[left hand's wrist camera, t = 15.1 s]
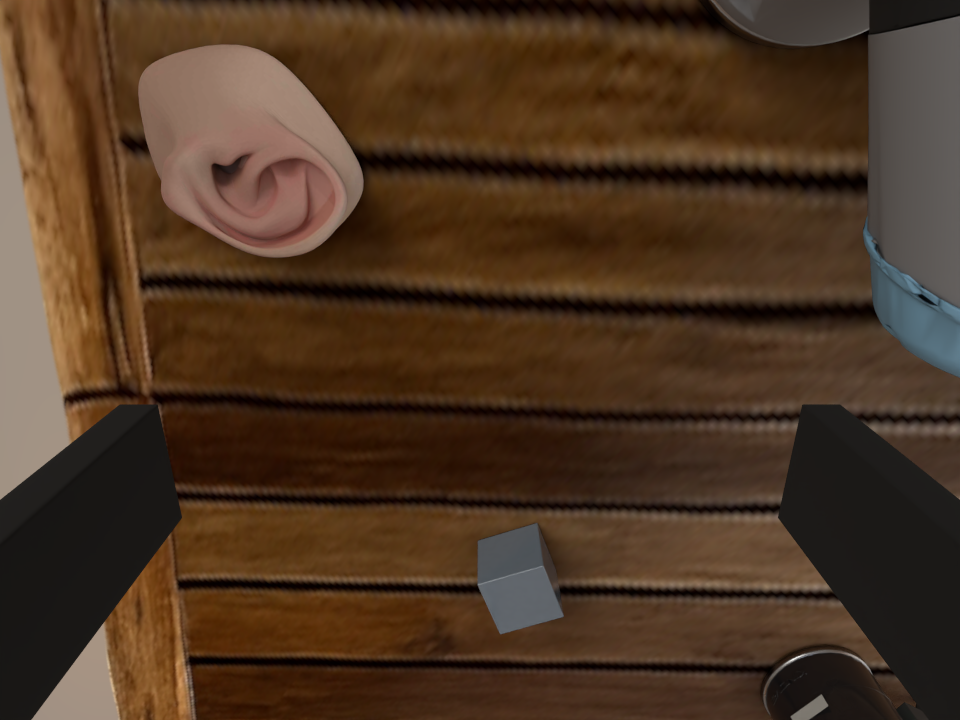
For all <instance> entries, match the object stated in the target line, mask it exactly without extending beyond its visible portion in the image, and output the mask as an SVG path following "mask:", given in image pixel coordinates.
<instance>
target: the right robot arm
mask: <svg viewBox="0 0 960 720" xmlns="http://www.w3.org/2000/svg"><path fill="white" fill-rule="evenodd" d="M761 697H762V701H763V704H764V706H765V708H766V710H767V712H768V713H769V715H770V716H771V717H772V719H773V720H929V719H928V718H927V717H926V715H925V714H924V713H923V711H922V710H921V709H920V707H919V706H918V705H917V703H916V708H915V707H913V706H911V705H909V704H907V703H905V702H904V703H903V704H902V705H901V706H900V707H898V708H897V709H896V708H895V707H894V705H893V704H892V702H891V701H890V699H889V698H888V696H887V695H886V694H885V692H884V691H883V689H882V688H881V687H880V685H879V684H878V682H877V681H876V679H875V678H874V677H873V675H872V672H871V670H870V669H869V667H868V666H867V664H866V663H865V662H864V660H863V659H862V658H861V657H860V656H859V655H857V654H856V653H854V652H852V651H850V650H848V649H845V648H841V647H836V646H815V647H810V648H805V649H802V650H799V651H796V652H794V653H792V654H790V655H788V656H786V657H785V658H783V659H782V660H780V661H779V662H778V663H776V664H775V665H774V666H773V667H772V668H771V669H770V671H769V672H768V673H767V675H766V676H765V678H764V680H763V683H762V687H761Z"/></svg>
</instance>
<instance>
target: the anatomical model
mask: <svg viewBox="0 0 960 720" xmlns="http://www.w3.org/2000/svg"><path fill="white" fill-rule="evenodd" d="M138 94H139V105H140V111H141V116H142V121H143V126H144V131H145V136H146V141H147V144H148V147H149V151H150V154H151V156H152V159H153V162H154V165H155V168H156V170H157V173H158V175H159V177H160V179H161V181H162V183H161V193H162V197H163V200H164V202H165V203H166V205H167V206H168V207H169V208H170V209H171V210H172V211H173V212H175V213H176V214H178V215H179V216H181V217H182V218H184V219H186V220H188V221H190V222H191V223H193V224H195V225H197V226H198V227H200V228H202V229H204V230H205V231H207V232H209V233H210V234H212V235H214V236H215V237H217V238H219V239H220V240H222V241H224V242H226V243H228V244H230V245H231V246H233V247H235V248H238V249H240V250H242V251H245V252H247V253H250V254H254V255H258V256H263V257H273V258H279V257H290V256H296V255H301V254H304V253H307V252H309V251H311V250H313V249H315V248H316V247H318V246H319V245H321V244H322V243H323V242H324V241H326V240H327V239H328V238H329V237H330V236H331V235H332V234H333V232H334V231H335V230H336V229H337V228H338V227H339V226H340V225H341V224H342V223H343V222H344V221H345V220H346V218H347V217H348V216H349V215H350V213H351V212H352V211H353V209H354V208H355V206H356V205H357V203H358V201H359V199H360V197H361V195H362V191H363V182H364V180H363V174H362V170H361V167H360V165H359V162H358V160H357V159H356V157H355V155H354V153H353V151H352V149H351V147H350V146H349V144H348V143H347V141H346V140H345V138H344V137H343V135H342V134H341V132H340V131H339V129H338V128H337V126H336V125H335V123H334V122H333V121H332V119H331V118H330V117H329V115H328V114H327V113H326V111H325V110H324V109H323V108H322V106H321V105H320V104H319V103H318V101H317V100H316V99H315V98H314V96H313V95H312V94H311V93H310V92H309V90H308V89H307V88H306V87H305V86H304V85H303V84H302V82H301V81H300V80H299V79H298V78H297V77H296V76H295V75H294V74H293V73H292V72H291V71H290V70H289V69H288V68H286V67H285V66H284V65H283V64H282V63H281V62H279V61H278V60H277V59H275V58H274V57H272V56H270V55H269V54H267V53H265V52H263V51H260V50H258V49H255V48H251V47H248V46H241V45H212V46H204V47H199V48H194V49H189V50H186V51H182V52H179V53H175V54H172V55H169V56H167V57H164V58H162V59H159V60H158V61H156V62H154V63H152V64H151V65H150V66H148V67H147V68H146V69H145V71H144V72H143V74H142V76H141V78H140V81H139V91H138Z"/></svg>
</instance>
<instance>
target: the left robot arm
mask: <svg viewBox="0 0 960 720" xmlns="http://www.w3.org/2000/svg"><path fill="white" fill-rule="evenodd" d="M700 1H701V3H702V4H703V5H704V7H705V8H706V9H707V10H708V11H709V12H710V14H711V15H712V16H713V17H714V18H715V19H716V20H717V21H719V22H720V23H721V24H722V25H723V26H725V27H726V28H727V29H729V30H730V31H731V32H733V33H735V34H737V35H738V36H740V37H742V38H744V39H747V40H749V41H751V42H754V43H757V44H760V45H764V46H768V47H774V48H784V49H797V48H808V47H814V46H819V45H824V44H829V43H833V42H837V41H841V40H844V39H847V38H850V37H853V36H855V35H858V34H861V33H863V32H865V31H867V30H869V34H870V35H868V102H869V140H868V216H867V218H866V222H865V226H864V228H863V238H864V244H865V246H866V249H867V251H868V253H869V255H870V265H871V283H872V299H873V304H874V308H875V312H876V314H877V316H878V318H879V320H880V322H881V323H882V325H883V327H884V328H885V329H886V330H887V331H888V332H889V333H890V334H892V335H893V336H894V337H895V338H897V339H898V340H899V341H900V343H901V344H902V346H903V347H904V348H906V349H907V350H908V351H909V352H911V353H912V354H914V355H915V356H917V357H919V358H920V359H922V360H924V361H926V362H927V363H929V364H931V365H933V366H935V367H937V368H939V369H941V370H943V371H945V372H948V373H950V374H952V375H955V376H957V377H960V0H700ZM871 33H873V34H871ZM181 518H182V516H181V511H180V506H179V502H178V497H177V492H176V488H175V483H174V479H173V474H172V469H171V465H170V460H169V455H168V451H167V446H166V442H165V437H164V432H163V428H162V423H161V418H160V414H159V409H158V405H119V406H118V407H116V408H115V409H114V410H113V411H111V412H110V413H109V414H108V415H106V416H105V417H104V418H102V419H101V420H100V421H99V422H97V423H96V424H95V425H94V426H92V427H91V428H90V429H89V430H87V431H86V432H85V433H84V434H82V435H81V436H80V437H79V438H77V439H76V440H75V441H74V442H72V443H71V444H70V445H69V446H67V447H66V448H65V449H64V450H62V451H61V452H60V453H59V454H57V455H56V456H55V457H53V458H52V459H51V460H50V461H48V462H47V463H46V464H45V465H44V466H42V467H41V468H40V469H38V470H37V471H36V472H35V473H33V474H32V475H31V476H30V477H28V478H27V479H26V480H25V481H23V482H22V483H21V484H20V485H18V486H17V487H16V488H15V489H13V490H12V491H11V492H10V493H8V494H7V495H6V496H5V497H3V498H2V499H1V500H0V720H31V719H32V718H33V717H34V715H35V714H36V713H37V711H38V710H39V709H40V707H41V706H42V705H43V703H44V702H45V701H46V699H47V698H48V697H49V695H50V694H51V692H52V691H53V690H54V688H55V687H56V686H57V684H58V683H59V682H60V680H61V679H62V678H63V676H64V675H65V674H66V672H67V671H68V670H69V668H70V667H71V666H72V664H73V663H74V662H75V660H76V659H77V658H78V656H79V655H80V654H81V652H82V651H83V650H84V648H85V647H86V646H87V644H88V643H89V642H90V640H91V639H92V638H93V636H94V635H95V634H96V632H97V631H98V629H99V628H100V627H101V626H102V624H103V623H104V622H105V620H106V619H107V617H108V616H109V615H110V613H111V612H112V611H113V609H114V608H115V607H116V605H117V604H118V603H119V601H120V600H121V599H122V597H123V596H124V595H125V593H126V592H127V591H128V589H129V588H130V587H131V585H132V584H133V583H134V581H135V580H136V579H137V577H138V576H139V575H140V573H141V572H142V571H143V569H144V568H145V567H146V565H147V564H148V563H149V561H150V560H151V558H152V557H153V556H154V554H155V553H156V552H157V550H158V549H159V548H160V546H161V545H162V544H163V542H164V541H165V540H166V538H167V537H168V536H169V534H170V533H171V532H172V530H173V529H174V528H175V526H176V525H177V524H178V522H179V521H180V520H181ZM778 518H779V520H780V521H781V522H782V524H783V525H784V526H785V528H786V529H787V530H788V532H789V533H790V534H791V536H792V537H793V538H794V540H795V541H796V542H797V544H798V545H799V546H800V548H801V549H802V550H803V552H804V553H805V554H806V556H807V557H808V558H809V560H810V561H811V563H812V564H813V565H814V567H815V568H816V569H817V571H818V572H819V573H820V575H821V576H822V577H823V579H824V580H825V581H826V583H827V584H828V585H829V587H830V588H831V589H832V591H833V592H834V593H835V595H836V596H837V597H838V599H839V600H840V601H841V603H842V604H843V605H844V607H845V608H846V609H847V611H848V612H849V613H850V615H851V616H852V617H853V619H854V620H855V622H856V623H857V624H858V626H859V627H860V628H861V630H862V631H863V632H864V634H865V635H866V636H867V638H868V639H869V640H870V642H871V643H872V644H873V646H874V647H875V648H876V650H877V651H878V652H879V654H880V655H881V656H882V658H883V659H884V660H885V662H886V663H887V664H888V666H889V667H890V668H891V670H892V671H893V672H894V674H895V675H896V676H897V678H898V679H899V681H900V682H901V683H902V685H903V686H904V687H905V689H906V690H907V691H908V693H909V694H910V695H911V697H912V698H913V699H914V701H915V702H916V703H917V705H918V706H919V707H920V709H921V710H922V711H923V713H924V714H925V715H926V717H927V718H928V719H929V720H960V500H959V499H958V498H957V497H955V496H954V495H953V494H952V493H950V492H949V491H948V490H947V489H945V488H944V487H943V486H942V485H940V484H939V483H938V482H937V481H935V480H934V479H933V478H932V477H930V476H929V475H928V474H927V473H925V472H924V471H923V470H922V469H920V468H919V467H918V466H917V465H915V464H914V463H913V462H912V461H910V460H909V459H908V458H907V457H905V456H904V455H903V454H901V453H900V452H899V451H898V450H896V449H895V448H894V447H893V446H891V445H890V444H889V443H888V442H886V441H885V440H884V439H883V438H881V437H880V436H879V435H878V434H876V433H875V432H874V431H873V430H871V429H870V428H869V427H868V426H866V425H865V424H864V423H863V422H861V421H860V420H859V419H858V418H856V417H855V416H854V415H852V414H851V413H850V412H849V411H847V410H846V409H845V408H844V407H842V406H841V405H802V409H801V414H800V418H799V423H798V428H797V432H796V437H795V442H794V446H793V451H792V455H791V460H790V465H789V469H788V474H787V479H786V483H785V488H784V492H783V497H782V502H781V506H780V511H779V516H778Z"/></svg>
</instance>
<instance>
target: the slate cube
mask: <svg viewBox="0 0 960 720" xmlns="http://www.w3.org/2000/svg"><path fill="white" fill-rule="evenodd" d="M478 587H479V589H480V591H481V594H482V596H483V598H484V600H485V602H486V604H487V607H488V609H489V611H490V613H491V615H492V617H493V620H494V622H495V624H496V626H497V628H498V630H499V633H500V634H504V633H507V632H511V631H514V630H518V629H522V628H525V627H529V626H532V625H536V624H540V623H543V622H547V621H550V620H554V619H558V618H561V617H564V614H563V608H562V602H561V596H560V590H559V584H558V578H557V572H556V569H555V566H554V564H553V561H552V559H551V556H550V553H549V551H548V548H547V546H546V543H545V541H544V538H543V536H542V533H541V531H540V528H539V526H538V524H537V523H535V524H532V525H529V526H525V527H522V528H519V529H515V530H512V531H508V532H505V533H502V534H498V535H495V536H492V537H488V538H485V539H482V540H479V541H478Z"/></svg>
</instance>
